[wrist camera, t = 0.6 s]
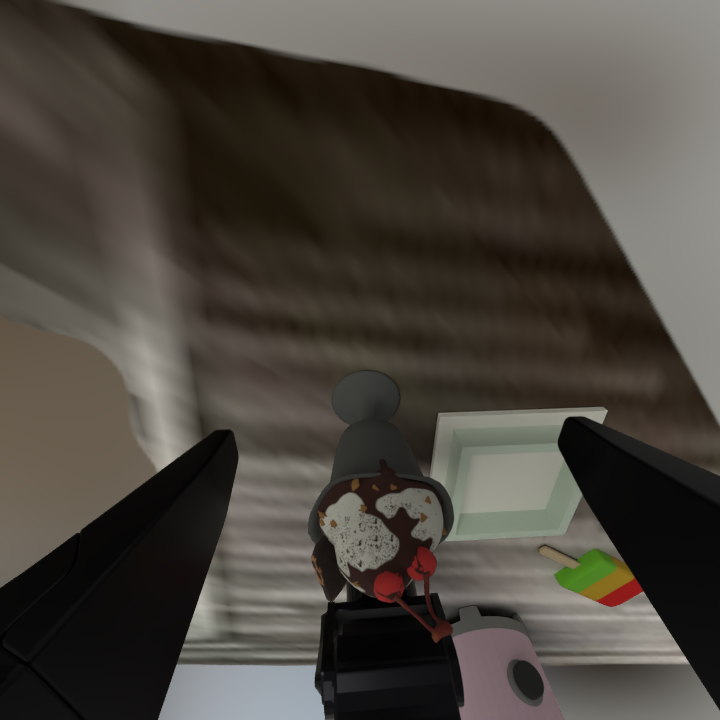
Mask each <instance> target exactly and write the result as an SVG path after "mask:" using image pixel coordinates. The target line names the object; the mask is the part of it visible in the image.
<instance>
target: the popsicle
mask: <svg viewBox="0 0 720 720" xmlns="http://www.w3.org/2000/svg"><path fill="white" fill-rule="evenodd" d="M539 552H540V554H542V555H544V556H546V557H549V558H551V559H553V560H555V561H557V562H559V563H561V564H563V565H566V566H567V567H565V568H564V569H562V570H561V571H559V572H558V573H556V574H555V577H556V579H557V581H558V583H559V584H560V585H561V586H562V587H564V588H567V589H569V590H571V591H574V592H576V593H578V594H580V595H583V596H585V597H587V598H590V599H592V600H594V601H596V602H599V603H601V604H603V605H606V606H609V607H613V606H617V605H620V604H622V603H623V602H625V601H627V600H629V599H631V598H632V597H634V596H636V595H638V594H639V593H641V592H643V590H642V588H641V587H640V585H639V583H638V582H637V580H636V579H635V577H634V576H633V574H632V572H631V571H630V569H629V568H628V566H627V565H626V564H625V563H623V562H621V561H619V560H617V559H615V558H613V557H611V556H609V555H607V554H606V553H604V552H602V551H600V550H598V549H593V550H591V551H590V552H588V553H587V554H585V555H584V556H582V557H581V558H579V559H578V560H574V559H572V558H570V557H568V556H566V555H564V554H562V553H560V552H557V551H555V550H553V549H551V548H549V547H547V546H543V547H541V548H540V549H539ZM616 566H617V567H616Z"/></svg>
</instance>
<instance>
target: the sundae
mask: <svg viewBox="0 0 720 720" xmlns="http://www.w3.org/2000/svg"><path fill="white" fill-rule="evenodd" d="M399 399H400V396H399V391H398V388H397V386H396V384H395V383H394V382H393V381H392V380H391V379H390V378H389V377H388V376H386V375H384V374H382V373H379V372H376V371H359V372H355V373H352V374H350V375H348V376H346V377H345V378H343V379H342V380H341V381H340V382H339V383H338V384H337V386H336V387H335V389H334V391H333V395H332V405H333V409H334V411H335V413H336V414H337V415H338V417H339V418H340V419H341V420H343V421H344V422H345V423H348V424H350V425H351V426H349V427H348V428H347V429H346V430H345V431H344V433H343V435H342V436H341V438H340V442H339V445H338V448H337V451H336V454H335V459H334V464H333V470H332V475H331V480H330V483H329V484H328V485H327V486H326V487H325V489H324V490H323V491H322V492H321V494H320V496H319V497H318V499H317V501H316V502H315V505H314V507H313V509H312V511H311V513H310V517H309V523H308V533H309V535H310V537H311V539H312V541H313V542H314V543H315V544H316V545H315V548H314V551H313V554H312V557H311V559H312V564H313V567H314V570H315V572H316V575H317V578H318V580H319V582H320V584H321V586H322V588H323V590H324V593H325V596H326V598H327V600H329V601H330V602H333V601H334V599H335V598H336V597H337V596H338V594H339V593H340V592H341V590H342V589H343V587H344V586H345V585H346V583H347V582H348V581H349V582H350V583H351V584H352V585H353V586H354V587H355V588H356V589H358V590H359V591H361V592H363V593H364V594H366V595H368V596H371V597H376V598H378V600H380V601H384V602H388V603H393V602H395V601H397V602H398V603H399V604H400V605H401V606H402V607H403V608H404V609H406V610H407V611H408V612H410V613H411V614H412V615H413V616H414V617H415V618H416V619H418V620H419V621H420V622H421V623H422V624H423V625H424V626H425V627H426V628H427V629H428V630H429V631H430V632H431V633H432V639H433V640H434V642H435V643H437V642H438V641H439V640H440V639H441V638H442V637H445V636H448V635H450V634H452V633H453V627H452V626H451V624H450V623H449V622H448V621H442V620H441V619H439V618H438V617H437V616H436V615H435V614H434V611H433V609H432V606H431V600H430V593H429V577H430V576H432V575H433V574H434V572H435V569H436V565H437V561H436V558H435V556H434V555H433V553H432V552H433V551H434V550H435V549H436V547H437V545H438V544H440V543H441V542H442V541H444V540H445V539H446V538H447V537H448V535H449V533H450V532H451V530H452V527H453V523H454V510H453V505H452V501H451V498H450V496H449V494H448V492H447V490H446V489H445V487H444V486H443V485H442V484H441V483H440V482H438V481H436V480H434V479H433V478H429V477H424V476H423V474H422V472H421V470H420V468H419V465H418V463H417V461H416V459H415V457H414V455H413V452H412V450H411V448H410V446H409V444H408V443H407V441H406V439H405V438H404V436H403V434H402V433H401V431H400V430H399V429H398V428H397V427H396V426H395V425H394V424H392V423H390V422H387V420H388V419H389V418H391V416H392V415H393V414H394V412H395V411H396V409H397V408H398V404H399ZM413 579H414V580H418V581H419V580H423V579H424V590H425V591H424V593H425V598H426V602H427V607H428V610H429V612H430V614H431V616H432V617H433V619H434V620H435V621H436V622H437V626H436V627H435V628H433V627H431V626H430V625H428V624H427V623H426V622H425V621H424V620H423V619H422V618H421V617H420V616H419V615H418V614H417V613H416V612H415V611H414V610H413V609H411V608H410V607H409V606H408V605H407V604H406V603H405V602H404V601H403V600H402V599H401V598H400V597H401V596H402V594H403V591H404V589H405V588H406V587H407V586H408V585H409V584H410V583H411V581H412V580H413Z"/></svg>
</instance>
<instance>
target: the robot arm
mask: <svg viewBox="0 0 720 720" xmlns="http://www.w3.org/2000/svg"><path fill="white" fill-rule="evenodd" d="M558 448H559V450H560V452H561V454H562V456H563V458H564V460H565V462H566V464H567V466H568V468H569V470H570V472H571V474H572V476H573V477H574V479H575V481H576V483H577V485H578V487H579V489H580V491H581V493H582V495H583V497H584V498H585V500H586V502H587V503H588V505H589V507H590V508H591V510H592V512H593V513H594V515H595V516H596V518H597V519H598V521H599V522H600V524H601V526H602V527H603V529H604V530H605V532H606V533H607V535H608V537H609V538H610V540H611V541H612V543H613V544H614V546H615V547H616V549H617V551H618V552H619V554H620V555H621V557H622V558H623V560H624V562H625V563H626V565H627V566H628V568H629V569H630V571H631V572H632V574H633V576H634V577H635V579H636V580H637V582H638V583H639V585H640V587H641V588H642V590H643V591H644V593H645V594H646V596H647V597H648V599H649V601H650V602H651V604H652V605H653V607H654V608H655V610H656V612H657V613H658V615H659V616H660V618H661V619H662V621H663V622H664V624H665V626H666V627H667V629H668V630H669V632H670V633H671V635H672V637H673V638H674V640H675V641H676V643H677V644H678V646H679V647H680V649H681V651H682V652H683V654H684V655H685V657H686V658H687V660H688V662H689V663H690V665H691V666H692V668H693V669H694V671H695V672H696V674H697V676H698V677H699V679H700V680H701V682H702V683H703V685H704V686H705V688H706V689H707V691H708V693H709V694H710V696H711V697H712V699H713V700H714V702H715V704H716V705H717V707H718V708H719V710H720V476H718V475H716V474H714V473H712V472H709V471H707V470H705V469H703V468H700V467H698V466H696V465H693V464H691V463H689V462H687V461H684V460H682V459H680V458H678V457H675V456H673V455H671V454H668V453H666V452H664V451H662V450H659V449H657V448H655V447H653V446H650V445H648V444H646V443H643V442H641V441H639V440H637V439H634V438H632V437H630V436H627V435H625V434H623V433H621V432H618V431H616V430H614V429H612V428H609V427H607V426H605V425H602V424H600V423H598V422H596V421H593V420H591V419H589V418H587V417H584V416H571V417H567V418H566V419H565V421H564V423H563V426H562V429H561V432H560V434H559V437H558ZM237 465H238V450H237V446H236V442H235V437H234V433H233V431H232V430H230V429H226V430H215V431H213V432H212V433H211V434H209V435H208V436H207V437H205V438H204V439H203V440H201V441H200V442H198V443H197V444H196V445H194V446H193V447H192V448H190V449H189V450H188V451H186V452H185V453H184V454H182V455H181V456H180V457H178V458H177V459H176V460H174V461H173V462H172V463H170V464H169V465H168V466H166V467H165V468H164V469H162V470H161V471H160V472H158V473H157V474H156V475H154V476H153V477H152V478H150V479H149V480H148V481H146V482H145V483H143V484H142V485H141V486H139V487H138V488H137V489H135V490H134V491H133V492H132V493H130V494H129V495H127V496H126V497H125V498H123V499H122V500H121V501H119V502H118V503H117V504H115V505H114V506H113V507H111V508H110V509H109V510H107V511H106V512H105V513H104V514H102V515H100V516H99V517H98V518H97V519H95V520H94V521H93V522H91V523H90V524H88V525H87V526H86V527H84V528H83V529H82V530H81V532H80V533H76V534H75V535H73V536H72V537H71V538H70V539H68V540H67V541H66V542H64V543H63V544H61V545H60V546H59V547H57V548H56V549H55V550H53V551H52V552H51V553H49V554H48V555H46V556H45V557H44V558H42V559H41V560H39V561H38V562H37V563H35V564H34V565H33V566H31V567H30V568H28V569H27V570H26V571H24V572H23V573H21V574H20V575H19V576H17V577H15V578H14V579H13V580H11V581H10V582H8V583H7V584H5V585H4V586H2V587H1V588H0V720H158V718H159V715H160V711H161V708H162V706H163V703H164V700H165V697H166V694H167V691H168V688H169V685H170V682H171V679H172V676H173V673H174V670H175V667H176V664H177V661H178V658H179V655H180V652H181V650H182V647H183V644H184V641H185V638H186V635H187V632H188V629H189V626H190V623H191V620H192V617H193V614H194V611H195V608H196V605H197V602H198V599H199V596H200V593H201V590H202V587H203V584H204V581H205V578H206V575H207V573H208V570H209V567H210V564H211V561H212V558H213V555H214V552H215V549H216V546H217V543H218V540H219V537H220V534H221V531H222V528H223V525H224V522H225V518H226V515H227V510H228V506H229V501H230V497H231V492H232V488H233V483H234V478H235V474H236V469H237ZM400 598H401V599H402V600H403V601H404V602H405V603H406V604H407V605H408V606H409V607H410V608H411V609H413V610H414V611H415V612H416V613H417V614H418V615H419V616H420V617H421V618H422V619H423V620H424V621H425V622H426V623H427V624H428V625H430V626H431V627H433V628H435V627H436V626H437V622H436V621H435V620H434V619H433V617H432V616H431V614H430V612H429V610H428V607H427V602H426V598H425V595H422V596H417V593H416V588H415V583H414V579H413V580H412V581H411V583H410V584H409V585H408V586H407V587H406V588H405V589H404V591H403V594H402V596H401V597H400ZM430 600H431V606H432V609H433V611H434V614H435V615H436V616H437V617H438V618H439V619H441V620H442V621H446V618H445V614H444V611H443V608H442V605H441V602H440V599H439V596H438V593H431V594H430ZM315 688H316V689H317V690H318V692H319V693H320V694H321V696H322V704H323V705H324V713H325V720H461V716H460V711H459V708H462V707H464V688H463V681H462V675H461V669H460V665H459V660H458V656H457V652H456V649H455V645H454V642H453V639H452V636H451V634H450V635H448V636H445V637H442V638H441V639H440V640H439V641H438V642H437V643H435V642H434V640H433V639H432V633H431V632H430V631H429V630H428V629H427V628H426V627H425V626H424V625H423V624H422V623H421V622H420V621H419V620H418V619H416V618H415V617H414V616H413V615H412V614H411V613H410V612H408V611H407V610H406V609H404V608H403V607H402V606H401V605H400V604H399V603H398V602H397V601H395V602H393V603H388V602H384V601H380V600H378V598H376V597H371V596H368V595H366V594H364V593H363V592H361V591H359V590H358V589H356V588H355V587H354V586H353V585H352V584H351V583H350V582H349V581H348V582H347V602H341V603H335V602H328V611H327V612H326V613H325V614H323V615H322V616H321V636H320V646H319V653H318V660H317V666H316V673H315Z"/></svg>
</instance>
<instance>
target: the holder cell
mask: <svg viewBox="0 0 720 720" xmlns="http://www.w3.org/2000/svg"><path fill="white" fill-rule="evenodd" d="M607 412H608V410H606V409H605V408H604V407H584V408H557V409H530V410H502V411H475V412H448V413H438V418H437V425H436V433H435V440H434V448H433V456H432V463H431V471H430V478H433V479H434V480H436V481H438V482H440V483H441V484H442V485H443V486H444V487H445V489H446V490H447V492H448V494H449V496H450V498H451V501H452V505H453V510H454V523H453V527H452V530H451V532H450V533H449V535H448V537H447V538H446V539H445V542H446V541H464V540H482V539H499V538H517V537H535V536H553V535H565V533H566V530H567V528H568V526H569V524H570V521H571V519H572V517H573V515H574V513H575V510H576V508H577V506H578V504H579V501H580V499H581V497H582V493H581V491H580V489H579V487H578V485H577V483H576V481H575V479H574V477H573V476H572V474H571V472H570V470H569V468H568V466H567V464H566V462H565V460H564V458H563V456H562V454H561V452H560V450H559V448H558V437H559V434H560V432H561V429H562V426H563V423H564V421H565V419H566V418H567V417H571V416H584V417H587V418H589V419H591V420H593V421H596V422H598V423H600V424H602V423H603V421H604V419H605V416H606V414H607Z"/></svg>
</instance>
